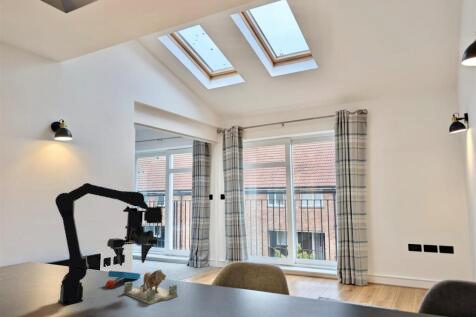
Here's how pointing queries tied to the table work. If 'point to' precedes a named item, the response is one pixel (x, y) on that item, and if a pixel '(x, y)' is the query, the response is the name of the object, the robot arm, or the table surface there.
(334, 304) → the table surface
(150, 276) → the lion figurine
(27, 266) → the table surface
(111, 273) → the lever
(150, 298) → the cradle jig
